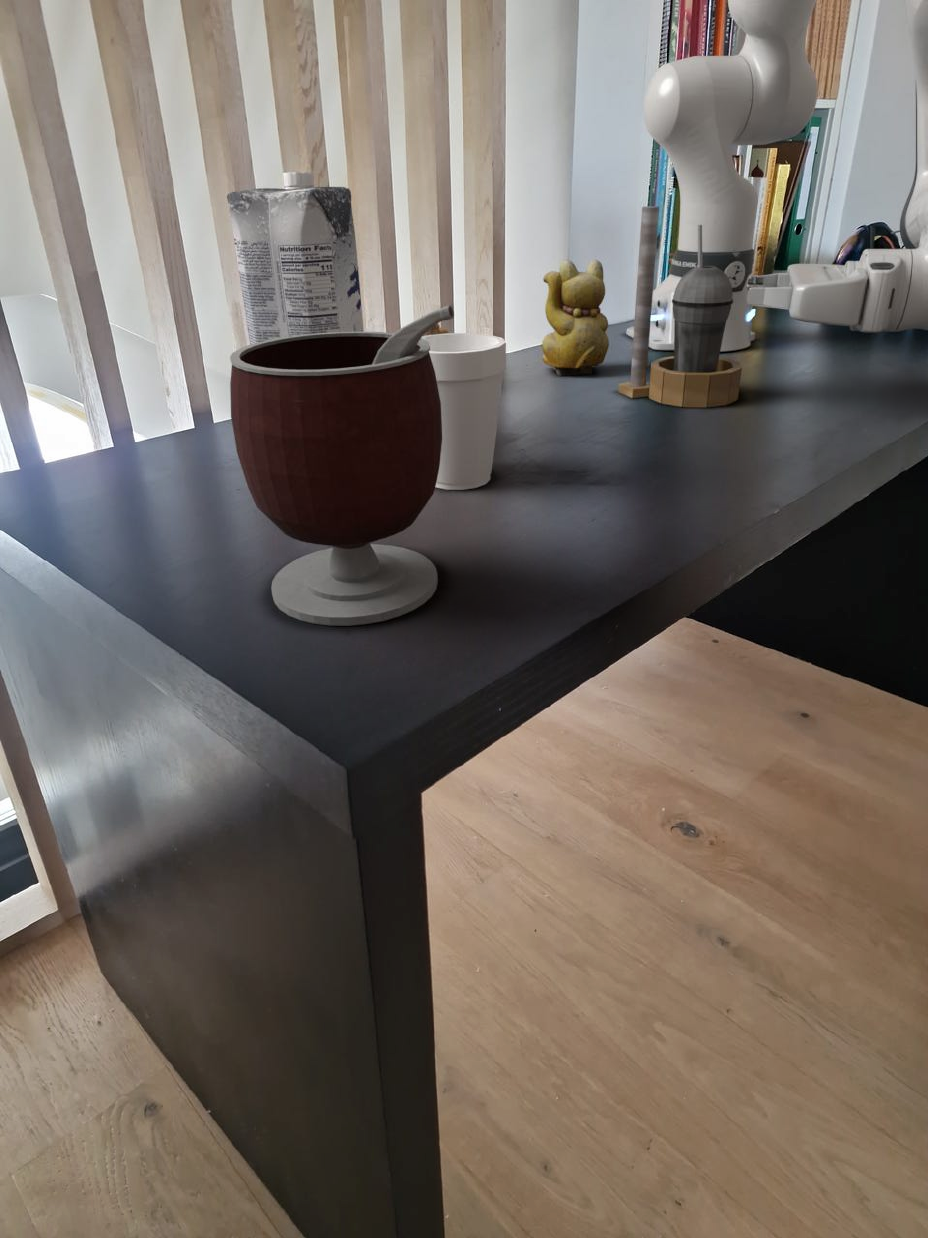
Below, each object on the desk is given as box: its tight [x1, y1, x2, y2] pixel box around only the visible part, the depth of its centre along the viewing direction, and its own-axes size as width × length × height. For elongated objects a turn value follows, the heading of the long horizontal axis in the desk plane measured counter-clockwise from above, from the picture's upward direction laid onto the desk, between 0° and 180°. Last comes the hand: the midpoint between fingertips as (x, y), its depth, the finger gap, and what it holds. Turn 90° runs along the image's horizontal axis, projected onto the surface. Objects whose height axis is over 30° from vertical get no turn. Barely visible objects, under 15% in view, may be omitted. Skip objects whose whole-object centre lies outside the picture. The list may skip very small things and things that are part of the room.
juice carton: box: [226, 171, 365, 345], centre depth 84 cm, size 9×10×27 cm
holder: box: [618, 205, 743, 409], centre depth 101 cm, size 12×13×22 cm
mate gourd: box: [229, 304, 455, 627], centre depth 57 cm, size 16×14×20 cm
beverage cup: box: [672, 225, 733, 373], centre depth 102 cm, size 7×7×20 cm
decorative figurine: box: [541, 259, 610, 377], centre depth 117 cm, size 10×8×15 cm
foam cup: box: [421, 332, 507, 491], centre depth 79 cm, size 10×9×13 cm
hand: (747, 289), depth 99 cm, fingers open, 8 cm apart
